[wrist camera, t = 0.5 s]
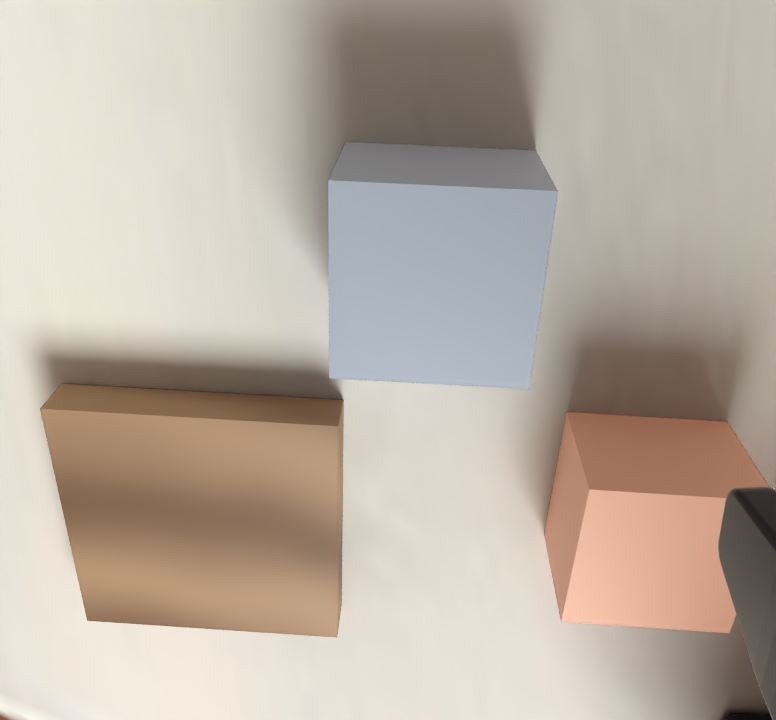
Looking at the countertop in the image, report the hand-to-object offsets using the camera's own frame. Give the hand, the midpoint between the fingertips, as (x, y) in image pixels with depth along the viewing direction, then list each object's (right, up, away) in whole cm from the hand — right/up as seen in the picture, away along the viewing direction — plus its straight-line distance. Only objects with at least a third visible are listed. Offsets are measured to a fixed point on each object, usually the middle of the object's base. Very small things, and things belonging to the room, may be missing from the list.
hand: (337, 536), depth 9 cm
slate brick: (+2, +6, +12) cm, 13 cm away
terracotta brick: (+9, -2, +16) cm, 18 cm away
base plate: (-5, -3, +17) cm, 18 cm away
